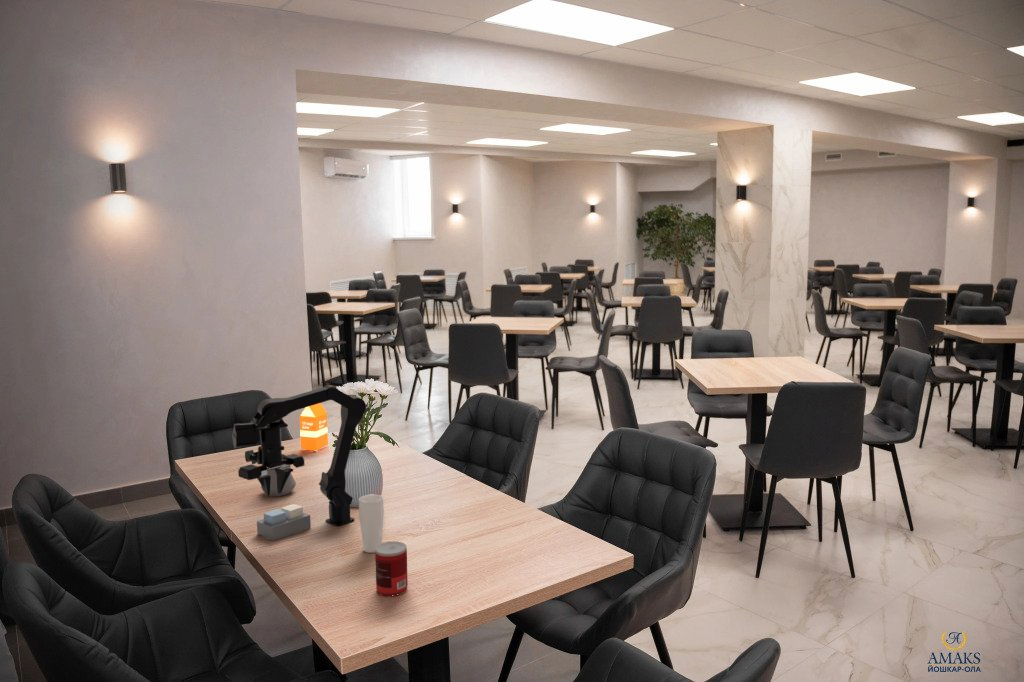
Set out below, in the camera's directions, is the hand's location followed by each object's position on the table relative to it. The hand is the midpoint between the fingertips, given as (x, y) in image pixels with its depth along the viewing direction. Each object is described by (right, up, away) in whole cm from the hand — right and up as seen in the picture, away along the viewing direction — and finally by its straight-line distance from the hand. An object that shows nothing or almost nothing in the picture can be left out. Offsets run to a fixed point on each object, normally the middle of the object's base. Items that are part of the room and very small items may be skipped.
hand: (273, 494), depth 222 cm
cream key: (+4, -9, +6) cm, 11 cm away
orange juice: (-13, 0, +95) cm, 96 cm away
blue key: (0, -9, +1) cm, 10 cm away
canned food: (+40, -17, -35) cm, 56 cm away
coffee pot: (-8, -8, +35) cm, 36 cm away
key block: (+2, -12, +4) cm, 12 cm away
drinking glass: (+31, -14, -10) cm, 35 cm away
